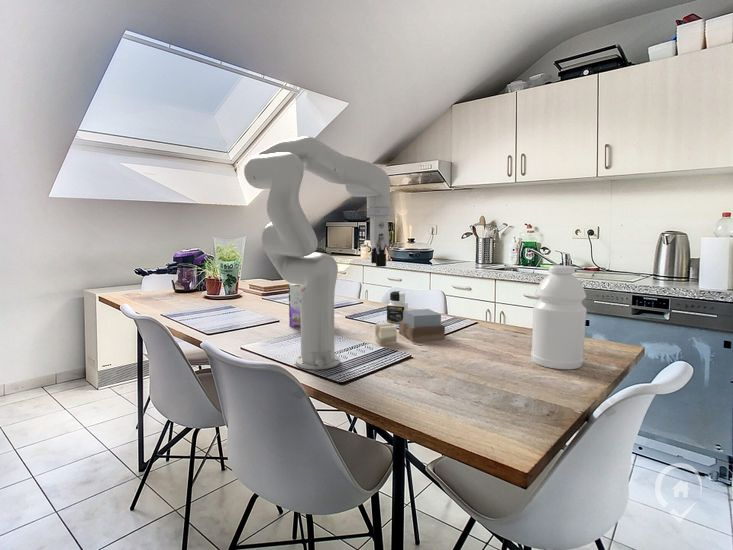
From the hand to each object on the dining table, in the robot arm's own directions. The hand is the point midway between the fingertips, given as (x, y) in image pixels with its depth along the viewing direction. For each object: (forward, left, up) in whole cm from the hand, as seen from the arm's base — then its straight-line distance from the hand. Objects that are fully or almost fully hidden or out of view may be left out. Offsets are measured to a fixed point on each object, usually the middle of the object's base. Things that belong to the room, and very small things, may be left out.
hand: (378, 264), depth 148 cm
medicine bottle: (+25, -17, -26) cm, 40 cm away
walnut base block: (0, -16, -26) cm, 31 cm away
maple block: (-4, -1, -26) cm, 26 cm away
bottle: (-38, -41, -26) cm, 62 cm away
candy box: (+28, +19, -26) cm, 43 cm away
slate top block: (+1, -17, -21) cm, 27 cm away
